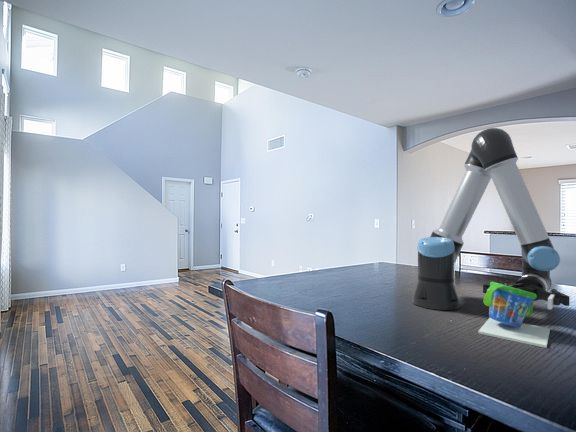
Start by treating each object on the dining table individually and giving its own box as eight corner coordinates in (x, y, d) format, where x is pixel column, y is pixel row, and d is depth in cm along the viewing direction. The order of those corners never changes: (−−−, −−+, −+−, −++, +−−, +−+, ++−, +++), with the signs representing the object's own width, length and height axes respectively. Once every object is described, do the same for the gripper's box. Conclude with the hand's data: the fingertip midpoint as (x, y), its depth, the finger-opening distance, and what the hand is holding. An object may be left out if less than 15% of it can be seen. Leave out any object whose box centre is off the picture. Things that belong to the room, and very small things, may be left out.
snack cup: (511, 322, 94) (519, 289, 94) (545, 336, 84) (554, 298, 84) (466, 310, 92) (474, 276, 92) (495, 323, 81) (505, 285, 81)
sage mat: (546, 348, 74) (546, 345, 74) (478, 333, 84) (478, 331, 84) (550, 330, 86) (550, 328, 86) (490, 319, 96) (489, 317, 96)
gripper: (584, 307, 92) (579, 324, 77) (486, 292, 110) (466, 303, 95) (584, 281, 92) (579, 293, 77) (486, 270, 110) (466, 278, 95)
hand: (517, 299), depth 86 cm, fingers open, 13 cm apart
